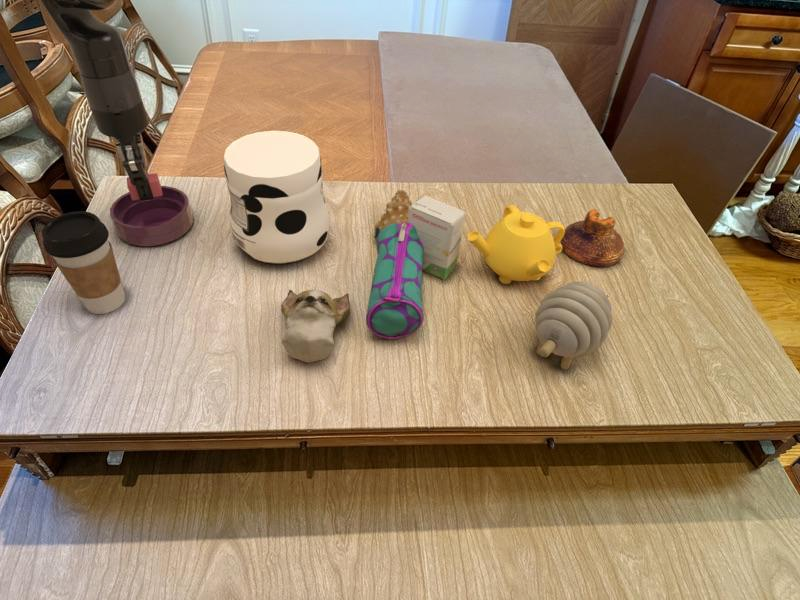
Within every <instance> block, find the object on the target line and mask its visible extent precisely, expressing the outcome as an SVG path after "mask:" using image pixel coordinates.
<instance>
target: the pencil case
mask: <svg viewBox="0 0 800 600" xmlns="http://www.w3.org/2000/svg"><path fill="white" fill-rule="evenodd" d="M374 238H375V239H374V240H376V251H377V252H376V253H377V257H376V260H375V264H374V270H373V274H372V275H373V276H372V280H371V287H370V293H369V299H368V302H367V303H368V304H367V309H366V310H367V311H366V318H365V323H366V326H367V328H368V330H369V331H370V332H371V333H372V334H373V335H375V336H376V337H378V338H381V339H384V340H399V339H402V338H405V337H408V336H409V335H412V334H413V333H415V332H417V331H418V330H420V328H421V327H422V325H423V323H424V320H425V315H424V304H423V270H422V266H423V253H424V248H423V245H422V243H421V241H420V238H419V236H418V235H417V232H416V228H415V226H414V225H412V224H410V223H404V222H402V223H395V224H390V225H388V226H386V227H385V228H384V229H382V231H381V230H380V229H378V228H376V230H375V229H374Z"/></svg>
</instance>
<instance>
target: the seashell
mask: <svg viewBox="0 0 800 600" xmlns="http://www.w3.org/2000/svg"><path fill="white" fill-rule="evenodd" d="M411 204H413V202H412V201H411V200H410V197H409V195H408V194H407V192H406V191H405V190H404V189H398V190H397V191H396V192H395V194H394V196H392V198H391V200H390V202H388V203H386V208H385V209H384V211H385V213H382V214H381V216H380V220H378V221H377V222H375V224H374V231H375V230H376V228H378V229H380V230H381V231H382V229H384V228H385V227H386V226H388V225H390V224H395V223H402V222H404V223H408V214H409V206H410V205H411Z"/></svg>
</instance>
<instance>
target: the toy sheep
mask: <svg viewBox="0 0 800 600" xmlns="http://www.w3.org/2000/svg"><path fill="white" fill-rule="evenodd" d="M609 297H610V296H609V295H608V294H606V293H605V292H604V291H603V290H602V289H600V288H599V287H598V286H596V285H594V284H592V283H590V282H587V281H572V282H569V283H567V284H564V285H561V286H559V287H558V288H556V289H554V290H553V291H551V292H549V293H548V294H546V295H545V296H544V297H543V298H542V300H541V302H540V303H539V306H538V307H537V310H536V312H535V316H534V326H535V333H536V336H537V339H538V341H539V343H538V345H537V348H536V351H535V352H536V354H537V355H538V356H540V357H542V358H548V357H549V356H550V355H551V353H552V354H553V355H555V356H559V357H562V360H561V362H560V368H561V369H562V370H568V369H569V368H570V366H571V364H572V361H573V358H575V357H583V356H587V355H589V354H591V353H593V352H594V351H595V350H596V349H598V348H599V347H600V346H601V345H603V344H604V343H605V341H606V340H607V338H608V335H609V332H610V330H611V329H612V324H613V317H612V304H611V302H610V299H609Z"/></svg>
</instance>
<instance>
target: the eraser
mask: <svg viewBox="0 0 800 600" xmlns="http://www.w3.org/2000/svg"><path fill="white" fill-rule="evenodd" d="M147 176H148V177H149V179H148V180H149V184H150V187H151V190H152V194H153V197H157V196H163V194H162V188H161V186H162V184H161V181H160V178H159V175H158V173H157V172H155V173H148V174H147ZM126 186H127V189H128V192H130V195H131V198H132V200H139V199H140V198H139V195H138V193H137V190H136V187H135V186H133V185H132V184H131V182H130V179H129V176H128V177H126Z"/></svg>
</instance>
